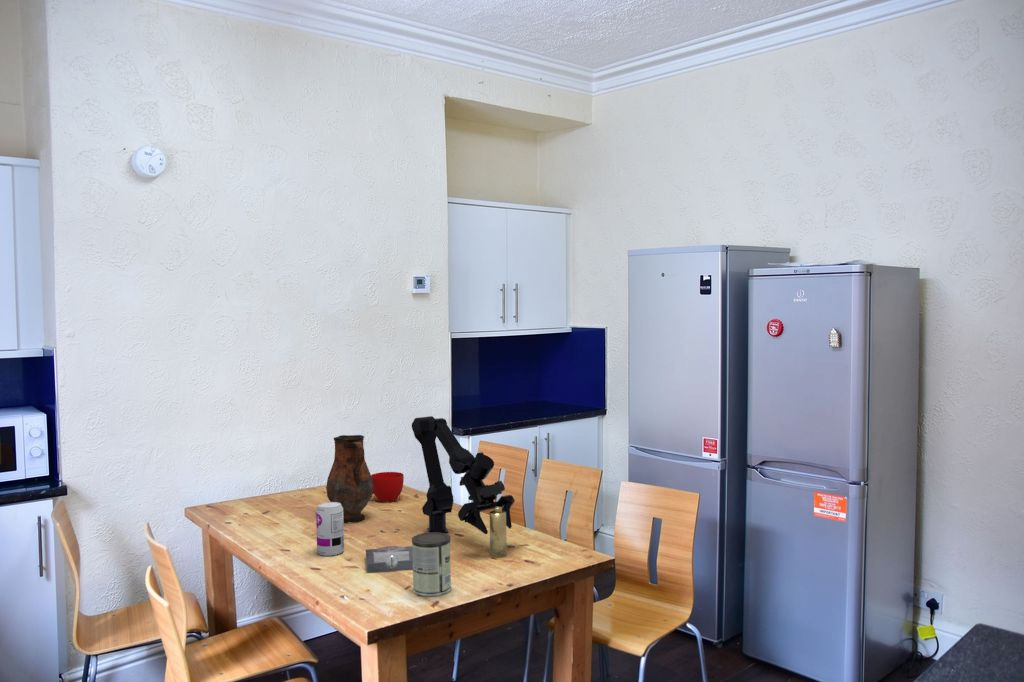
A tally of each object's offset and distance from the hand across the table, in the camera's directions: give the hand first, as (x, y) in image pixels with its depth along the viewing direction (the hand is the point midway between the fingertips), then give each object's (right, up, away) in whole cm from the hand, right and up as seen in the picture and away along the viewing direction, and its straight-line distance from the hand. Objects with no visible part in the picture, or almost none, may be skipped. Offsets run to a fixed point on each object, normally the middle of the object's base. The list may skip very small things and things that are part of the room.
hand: (498, 530), depth 237 cm
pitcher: (-53, -7, +42) cm, 68 cm away
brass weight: (0, -8, +1) cm, 8 cm away
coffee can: (-17, -9, -29) cm, 35 cm away
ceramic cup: (-47, -6, +71) cm, 86 cm away
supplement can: (-52, -8, +5) cm, 53 cm away
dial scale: (-32, -8, -6) cm, 34 cm away
